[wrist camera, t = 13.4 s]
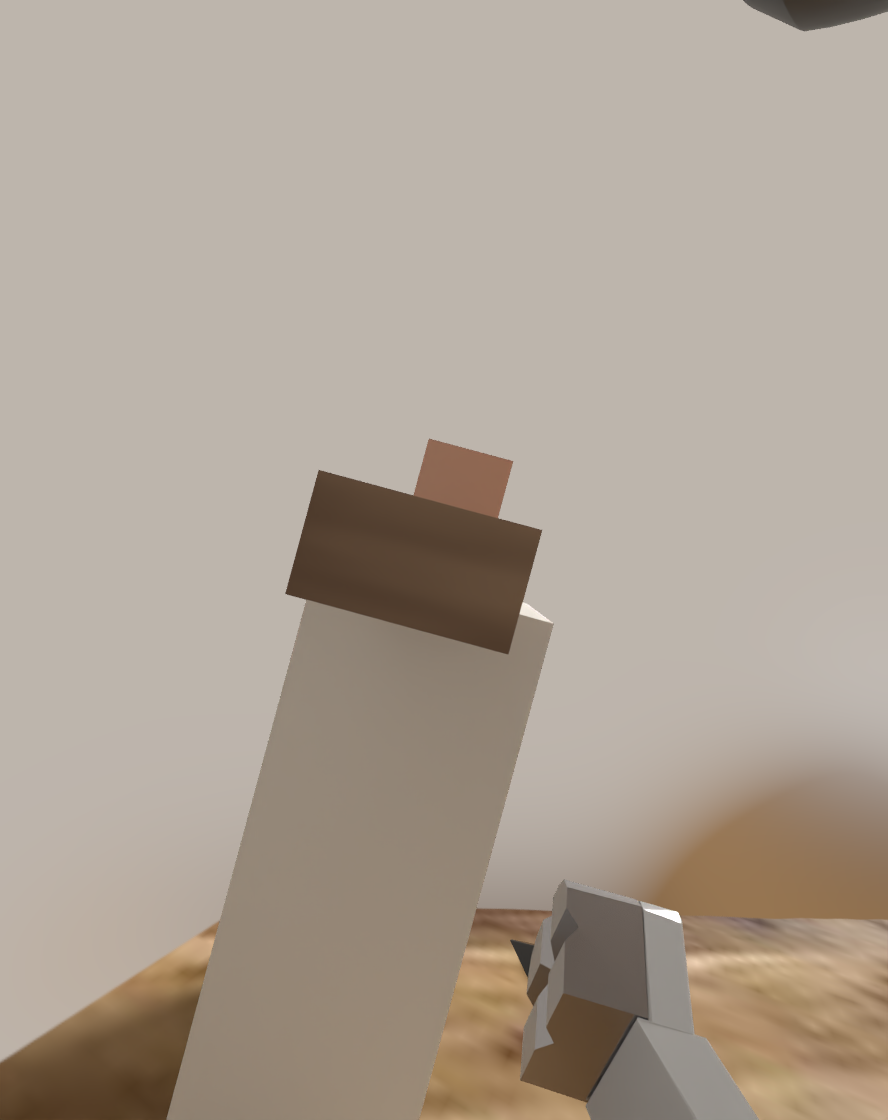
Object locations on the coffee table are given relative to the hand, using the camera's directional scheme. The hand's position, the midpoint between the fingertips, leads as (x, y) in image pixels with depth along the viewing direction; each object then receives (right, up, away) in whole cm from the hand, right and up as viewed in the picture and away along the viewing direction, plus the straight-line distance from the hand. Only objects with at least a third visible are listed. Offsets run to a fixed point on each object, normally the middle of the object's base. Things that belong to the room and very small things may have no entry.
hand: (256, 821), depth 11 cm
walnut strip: (+2, +2, +18) cm, 18 cm away
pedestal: (-4, -23, +31) cm, 39 cm away
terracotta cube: (+3, +5, +29) cm, 30 cm away
